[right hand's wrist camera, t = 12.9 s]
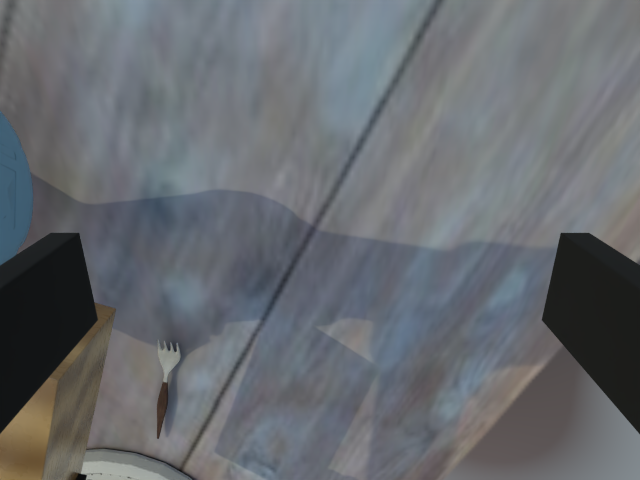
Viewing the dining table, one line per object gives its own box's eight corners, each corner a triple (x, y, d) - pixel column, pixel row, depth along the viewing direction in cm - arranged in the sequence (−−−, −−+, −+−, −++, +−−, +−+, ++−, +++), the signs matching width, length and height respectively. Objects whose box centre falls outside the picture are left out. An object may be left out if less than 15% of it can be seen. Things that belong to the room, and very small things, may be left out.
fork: (148, 433, 56) (142, 446, 54) (161, 328, 50) (155, 339, 48) (169, 437, 56) (164, 450, 54) (184, 333, 50) (179, 343, 48)
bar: (47, 288, 33) (-33, 356, 25) (116, 308, 33) (58, 380, 26) (18, 491, 41) (-48, 587, 33) (74, 504, 41) (21, 601, 34)
